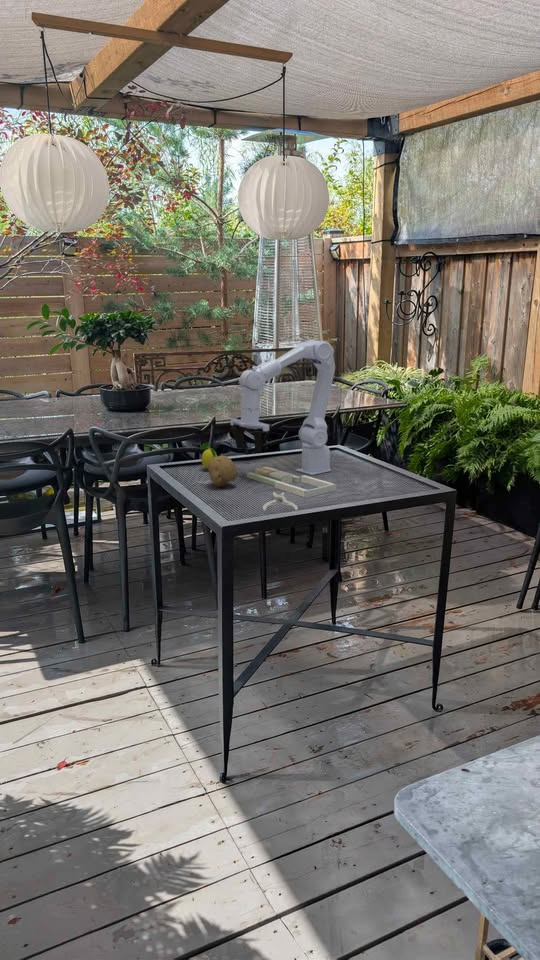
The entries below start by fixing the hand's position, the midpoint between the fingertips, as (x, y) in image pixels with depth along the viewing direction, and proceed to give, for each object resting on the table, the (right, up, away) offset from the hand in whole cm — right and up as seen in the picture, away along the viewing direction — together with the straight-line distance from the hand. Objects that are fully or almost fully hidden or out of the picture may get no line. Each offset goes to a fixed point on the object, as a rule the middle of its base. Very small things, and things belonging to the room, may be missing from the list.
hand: (248, 450), depth 227 cm
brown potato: (-8, -12, -6) cm, 16 cm away
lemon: (-14, -6, +14) cm, 21 cm away
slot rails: (+8, -9, +2) cm, 13 cm away
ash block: (+6, -9, +5) cm, 12 cm away
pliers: (+10, -17, -23) cm, 30 cm away
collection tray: (+17, -12, -8) cm, 23 cm away
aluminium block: (+10, -10, 0) cm, 15 cm away
